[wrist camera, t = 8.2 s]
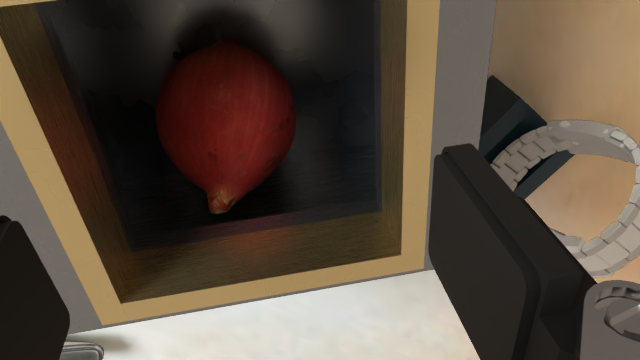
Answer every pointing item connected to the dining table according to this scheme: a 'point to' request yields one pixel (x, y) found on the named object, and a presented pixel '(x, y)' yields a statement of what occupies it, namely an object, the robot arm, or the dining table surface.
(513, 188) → the watch
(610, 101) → the dining table surface
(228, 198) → the onion
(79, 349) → the salad plate
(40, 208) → the housing
